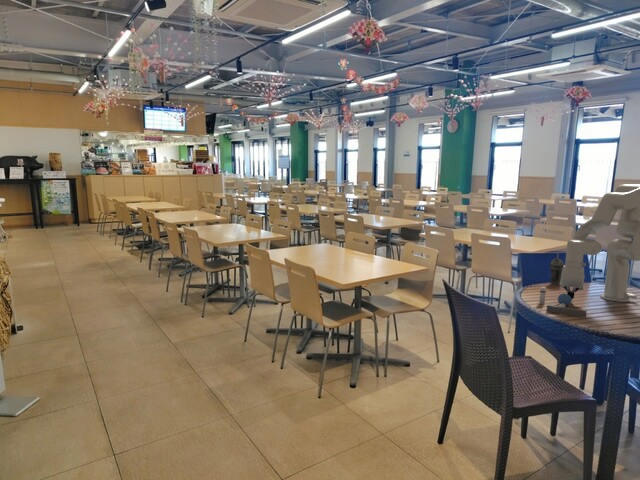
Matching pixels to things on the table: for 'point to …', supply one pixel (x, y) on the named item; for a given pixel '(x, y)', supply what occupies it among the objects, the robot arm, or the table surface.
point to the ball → (564, 299)
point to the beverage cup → (556, 270)
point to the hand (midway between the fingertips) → (570, 299)
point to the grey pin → (542, 295)
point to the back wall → (566, 311)
